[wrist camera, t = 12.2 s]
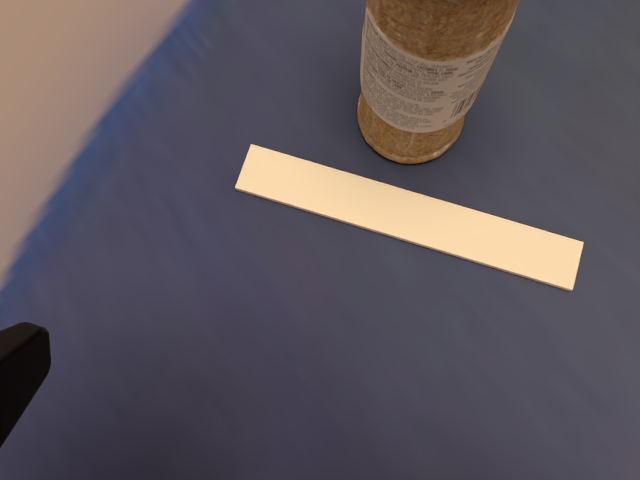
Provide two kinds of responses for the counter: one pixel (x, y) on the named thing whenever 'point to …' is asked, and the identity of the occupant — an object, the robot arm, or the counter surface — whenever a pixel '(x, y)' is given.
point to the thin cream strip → (411, 217)
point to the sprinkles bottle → (425, 71)
